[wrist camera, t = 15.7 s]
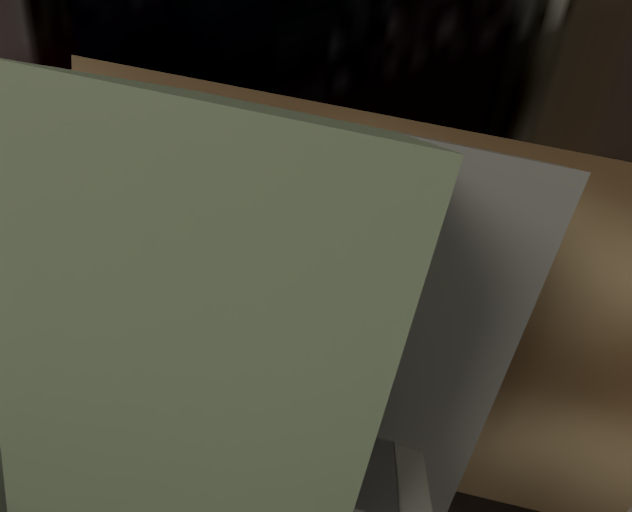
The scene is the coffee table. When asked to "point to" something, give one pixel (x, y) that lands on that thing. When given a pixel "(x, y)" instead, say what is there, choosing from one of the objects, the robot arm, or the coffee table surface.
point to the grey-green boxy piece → (248, 296)
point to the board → (534, 330)
